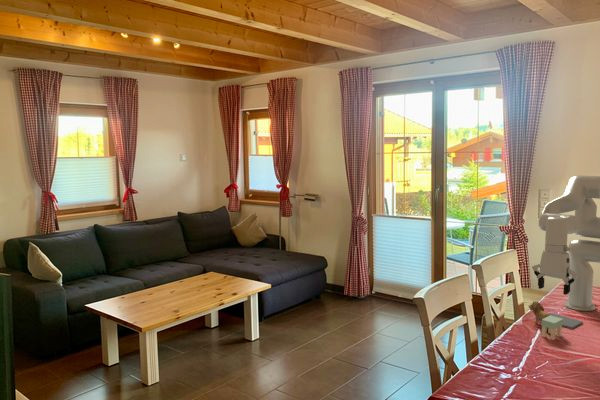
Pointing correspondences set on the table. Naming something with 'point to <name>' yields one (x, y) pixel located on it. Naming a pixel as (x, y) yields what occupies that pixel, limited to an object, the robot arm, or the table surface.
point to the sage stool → (552, 326)
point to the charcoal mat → (567, 321)
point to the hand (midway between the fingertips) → (553, 290)
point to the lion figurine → (538, 311)
